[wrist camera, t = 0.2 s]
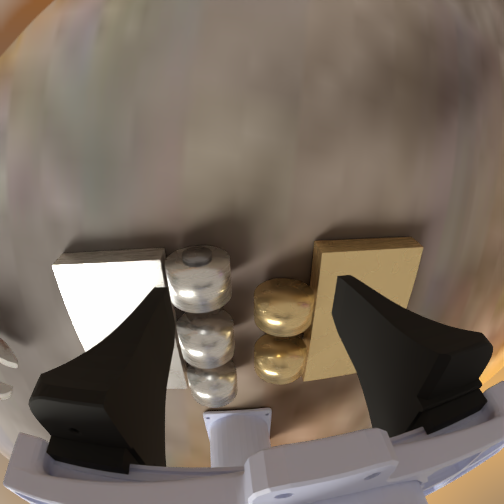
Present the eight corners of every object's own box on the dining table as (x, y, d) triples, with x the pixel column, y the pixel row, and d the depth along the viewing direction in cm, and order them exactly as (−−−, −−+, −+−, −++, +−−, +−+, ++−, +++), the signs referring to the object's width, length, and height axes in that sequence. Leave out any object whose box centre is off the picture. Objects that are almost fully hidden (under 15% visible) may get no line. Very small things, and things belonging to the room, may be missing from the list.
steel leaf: (236, 374, 29) (239, 409, 25) (108, 374, 28) (99, 406, 24) (228, 237, 22) (231, 267, 18) (60, 248, 21) (36, 275, 17)
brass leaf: (377, 354, 30) (393, 383, 26) (252, 371, 29) (257, 406, 25) (411, 236, 24) (439, 261, 20) (250, 244, 22) (257, 275, 18)
